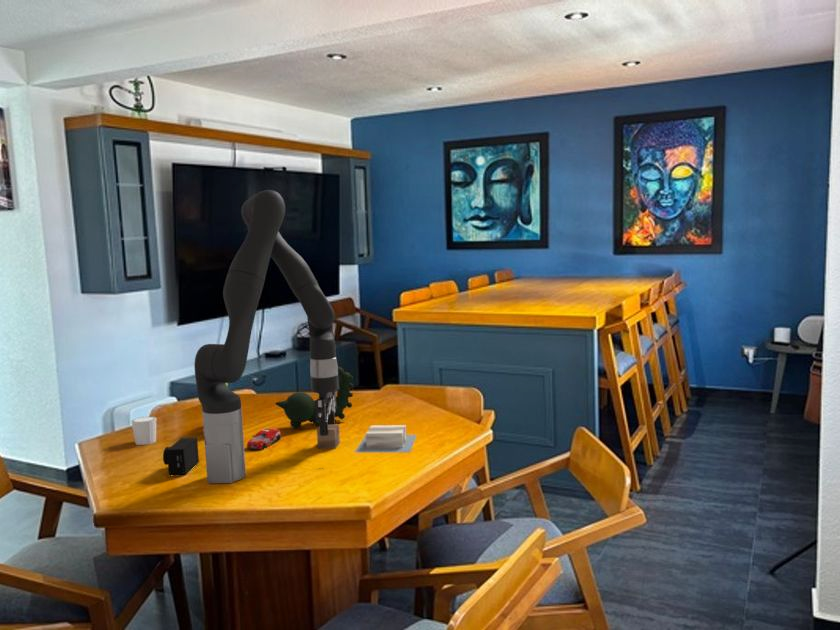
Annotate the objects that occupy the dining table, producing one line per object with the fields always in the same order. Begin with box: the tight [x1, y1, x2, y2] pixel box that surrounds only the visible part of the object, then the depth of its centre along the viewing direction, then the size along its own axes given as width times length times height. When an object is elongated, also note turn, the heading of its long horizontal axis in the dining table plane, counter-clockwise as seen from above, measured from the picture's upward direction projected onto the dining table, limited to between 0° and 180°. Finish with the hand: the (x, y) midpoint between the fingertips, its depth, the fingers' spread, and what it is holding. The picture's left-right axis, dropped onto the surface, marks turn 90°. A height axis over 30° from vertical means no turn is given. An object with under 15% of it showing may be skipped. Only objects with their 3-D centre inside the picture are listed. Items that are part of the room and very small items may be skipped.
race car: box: [246, 428, 282, 451], centre depth 199 cm, size 13×5×4 cm, turn 161°
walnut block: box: [316, 424, 341, 450], centre depth 193 cm, size 5×5×6 cm
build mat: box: [354, 434, 418, 453], centre depth 193 cm, size 16×15×1 cm
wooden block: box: [365, 424, 407, 448], centre depth 193 cm, size 8×10×4 cm
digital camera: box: [162, 437, 200, 477], centre depth 179 cm, size 10×5×7 cm, turn 179°
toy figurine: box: [275, 366, 354, 430], centre depth 217 cm, size 9×19×25 cm
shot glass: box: [131, 416, 157, 446], centre depth 205 cm, size 7×7×7 cm
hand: (327, 430), depth 193 cm, fingers open, 8 cm apart
